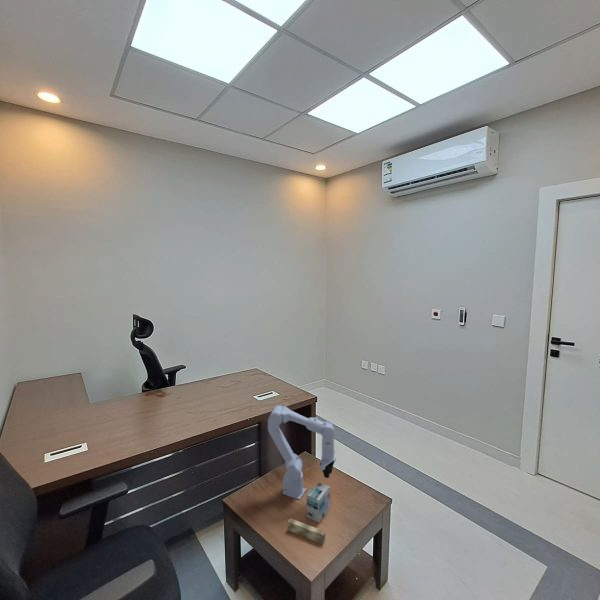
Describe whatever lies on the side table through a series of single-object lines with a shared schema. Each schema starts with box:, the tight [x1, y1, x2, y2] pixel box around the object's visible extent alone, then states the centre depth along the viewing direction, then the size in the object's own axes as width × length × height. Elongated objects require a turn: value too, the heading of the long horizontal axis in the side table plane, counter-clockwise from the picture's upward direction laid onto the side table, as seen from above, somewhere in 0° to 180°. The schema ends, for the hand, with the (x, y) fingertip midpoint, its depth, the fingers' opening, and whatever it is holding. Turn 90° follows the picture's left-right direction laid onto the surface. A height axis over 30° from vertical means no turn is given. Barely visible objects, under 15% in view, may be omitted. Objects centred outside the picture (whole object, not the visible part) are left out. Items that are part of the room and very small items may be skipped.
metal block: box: [287, 517, 326, 545], centre depth 131 cm, size 16×2×4 cm, turn 64°
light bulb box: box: [306, 481, 331, 524], centre depth 143 cm, size 11×7×11 cm, turn 148°
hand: (327, 474), depth 153 cm, fingers open, 3 cm apart
